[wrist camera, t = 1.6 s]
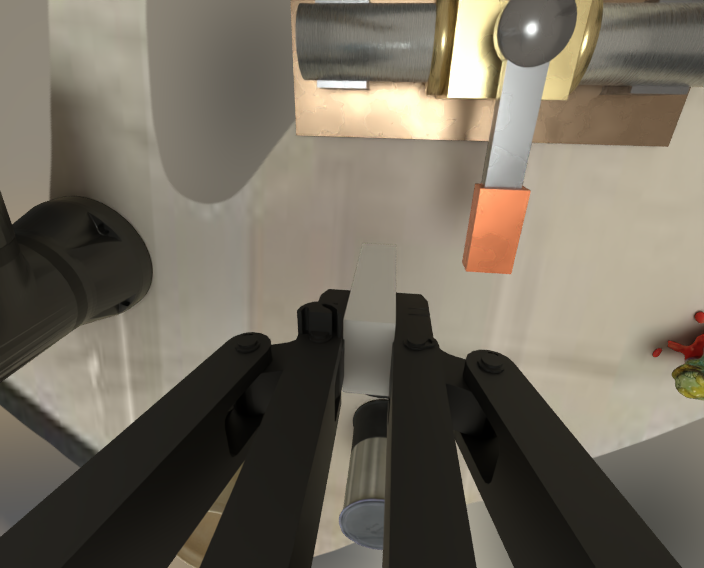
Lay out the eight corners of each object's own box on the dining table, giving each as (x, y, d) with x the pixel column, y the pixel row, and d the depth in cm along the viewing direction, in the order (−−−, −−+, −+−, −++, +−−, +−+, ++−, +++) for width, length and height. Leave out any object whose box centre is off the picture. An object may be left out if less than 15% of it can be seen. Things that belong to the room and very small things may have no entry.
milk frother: (384, 453, 56) (380, 561, 43) (305, 396, 53) (275, 494, 40) (455, 407, 51) (476, 514, 37) (372, 339, 47) (363, 430, 34)
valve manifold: (300, 134, 37) (261, 146, 26) (292, -45, 31) (238, -124, 20) (657, 144, 34) (777, 163, 23) (728, -51, 28) (936, -147, 17)
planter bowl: (310, 485, 61) (294, 557, 52) (252, 519, 68) (228, 589, 58) (236, 430, 57) (204, 497, 48) (181, 471, 64) (142, 538, 54)
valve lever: (500, -12, 21) (509, -22, 19) (573, -13, 21) (588, -23, 19) (456, 261, 29) (460, 270, 27) (509, 264, 28) (516, 274, 27)
